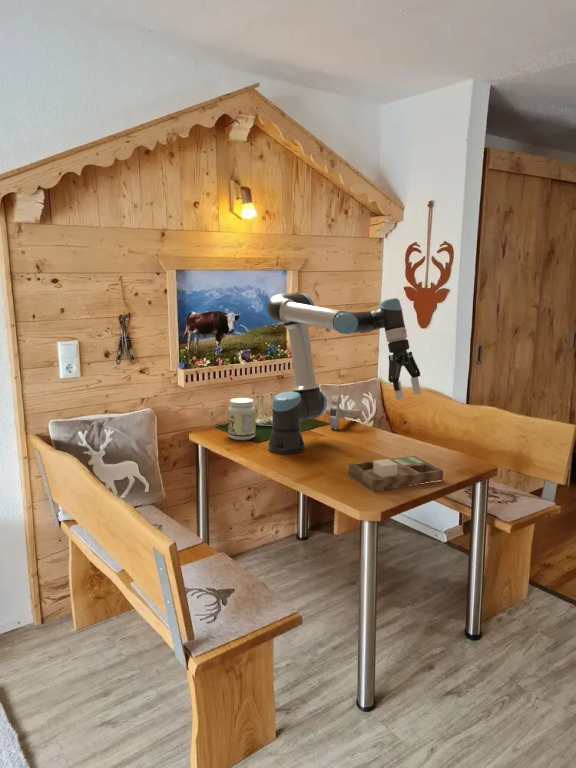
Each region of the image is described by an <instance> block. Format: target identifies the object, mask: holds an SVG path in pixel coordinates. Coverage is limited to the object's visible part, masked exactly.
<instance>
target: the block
mask: <svg viewBox="0 0 576 768" xmlns="http://www.w3.org/2000/svg"><path fill="white" fill-rule="evenodd" d="M389 459H390V458H386V459H378V460H372V461H373V472H374V473H376V474H377V475H379V476H380V477H389V476H396V475H397V465H398V464H396V463H394V462H393V461H391V460H389Z"/></svg>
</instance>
